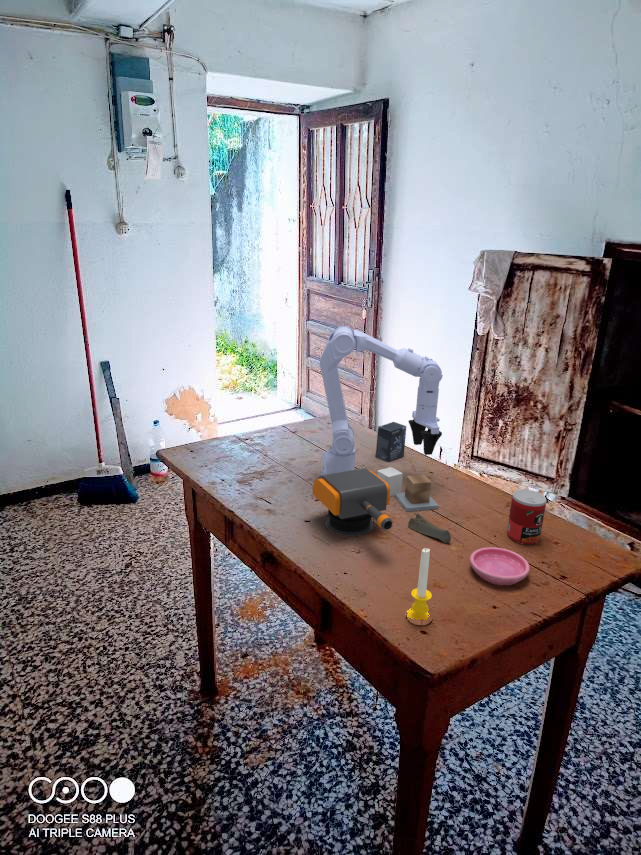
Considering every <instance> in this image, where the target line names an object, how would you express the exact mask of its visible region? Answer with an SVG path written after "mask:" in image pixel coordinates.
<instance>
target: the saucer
mask: <svg viewBox="0 0 641 855" xmlns="http://www.w3.org/2000/svg"><path fill="white" fill-rule="evenodd" d="M469 563H470V566H471V567H472V569H473V571H474V572H475V573H476V574H477V576H478V575H479V576H480V577H479V576H478V577H479V578H481V579H482V578H483V579H484V581H485V580H486V581H485V582H487V581H488V582H487V583H489V582H490V584H492V583H493V584H492V585H496V584H497V586H503V585H507V586H512V584H513V585H515V584H517V583H518V582H521V581H522V580H524V579H526V577H528V575H529V572H530V568H531V567H530V564H529V562H528V561H527V560H526V558H524V557H523V556H522V555H520V554H519V553H517V552H514V551H512V550H510V549H506V548H502V547H494V546H493V547H491V546H490V547H489V546H488V547H482V548H478V549H476V550H474V551H473V552H472V553H471V554H470V556H469ZM483 579H482V580H483Z"/></svg>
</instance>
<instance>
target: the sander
mask: <svg viewBox="0 0 641 855" xmlns="http://www.w3.org/2000/svg"><path fill="white" fill-rule="evenodd" d="M312 494H313V495H314V497H316V498H317V499H318V501H320V502H321V504H322V505H324V506H325V507H326V509H327V515H328V516H327V517H326V521H325V526H326V528H327V527H328V528H329V529H330V530H331V532H332V531H333V532H332V533H334V532H335V533H334V534H336V533H337V534H336V535H339V534H340V536H344V535H345V536H344V537H359V536H364V535H367V534H369V533H371V532H372V530H373V529H374V525H375V524H374V520H375V522H376V524H377V526H379V527H380V529H382V530H384V531H387V530H390V529H391V528H392V526H393V519H392V518H391V517H389V515H388V514H385V513H382V512H383V511H386V510H387V506H390V497H391V496H390V487H389V484H388V483H386V482H385V481H384V480H382V479H381V478H380V477H379V476H377V473H375V472H374V471H373V470H370V469H368V468H365V467H363V468H357V469H354V470H350V471H344V472H338V473H332V474H326V475H319V476H318V478H317V479H315V480H314V482H313V484H312ZM372 518H373V519H374V520H373V519H372ZM328 528H327V529H328ZM329 529H328V530H329ZM330 530H329V531H330Z"/></svg>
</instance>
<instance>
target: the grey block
mask: <svg viewBox="0 0 641 855" xmlns="http://www.w3.org/2000/svg"><path fill="white" fill-rule="evenodd" d="M376 475H377V476H379V477H380V478H381V479H382V480H384V481H385V482H386V483H388V484H389V487H390V497H391V496H395V493H402V489H403V488H402V486H403V472H401V471H399V470H397V469H395V468H394V467H392V466H389V467H385V468H383V469H379V470H377V472H376Z"/></svg>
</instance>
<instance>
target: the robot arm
mask: <svg viewBox="0 0 641 855" xmlns="http://www.w3.org/2000/svg"><path fill="white" fill-rule="evenodd" d="M323 348H324V349H323V350H322V353H321V355H320V358H319V368H320V373H321V378H322V382H323V386H324V391H325V392H324V393H325V396H326V401H327V405H328V406H327V407H328V412H329V415H330V416H329V417H330V420H331V422H330V423H331V425H332V426H331V428H332V433H331V434H332V441H331V442H332V443H331V447H330V449H329V450H326V451H323V452H322V453H321V458H320V459H321V463H320V465H321V466H320V475H326V474H332V473H338V472H344V471H350V470H355V463H356V448H355V447H356V446H355V440H354V439H355V431H354V429H353V428H352V426H351V425H350V423H349V420H348V414H347V409H346V404H345V401H344V395H343V389H342V385H341V380H340V375H339V369H338V368H339V367H338V365H339V364H340V362H341V361H342V360H343V359H344V358H345V357H347V356H349V355H350V354H351V353H352V352H353V351H354V350H355V352H356V353H361V352H363V351H368V352H370V353H372V354H376V355H377V356H380V357H382V358H384V359H387V360H389V361H392V363H393V365H394V368H396V369H398V370H399V371H402V372H405V373H406V374H408V375H410V376H412V377H415V378H419V381H418V387H417V395H416V405H415V406H416V408H415V410H412V413H411V414H412V416H411V417H412V419H409V420H408V424H409V426H410V429H411V433H412V434H411V435H412V442H413V445H414V446H420V445H422V444H423V454H424V455H425V456H429V455H430V456H431V455H432V454H433V452H434V450H435V447H436V444H437V443H438V441H439V439H440V438H441V437H442V435H443V432H442V431H441V430H440V427H439V424H438V422H440V420H441V419H440V418H439V417H437V413H438V412H437V410H438V403H439V392H440V388H439V386H440V382H441V380H442V379H443V372H442V369H441V367H440V366H439V364H438V363H437V362H436V361H435V360H433V359H432V358H429V357H428V356H422V355H420V354H417V353H415V352H414V349H412V348H410V347H408V348H405V347H403V348H400V349H396V348H394V347H392V346H390V345H388V344H386V343H385V342H382V341H381V340H378V339H377V338H375V337H372V336H371V335H369V334H367V333H364V331H360V330H358V329H354V328H351V327H350V326H347V325H340V326H338V327H336V328H335V329H334V330H333V332H332V333H331V334H329V336H328V339H327V341H326V343H325V346H324V347H323ZM426 429H427V430H426ZM320 475H319V476H320Z"/></svg>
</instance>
